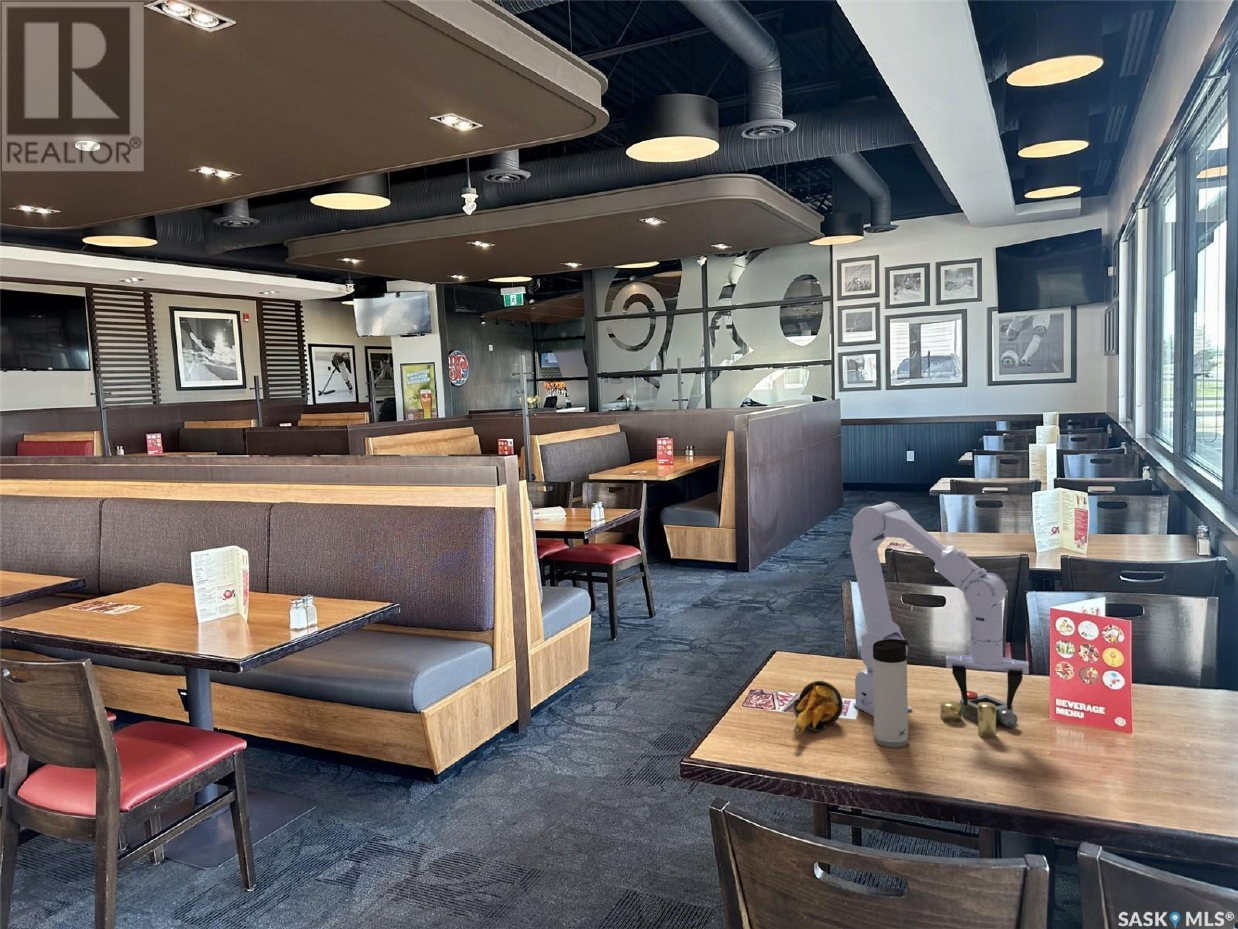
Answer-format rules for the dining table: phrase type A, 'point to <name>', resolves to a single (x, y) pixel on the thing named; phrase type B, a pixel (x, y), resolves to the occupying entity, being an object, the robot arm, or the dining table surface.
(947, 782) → the dining table surface
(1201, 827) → the dining table surface
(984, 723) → the brass nipple
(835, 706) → the fried food
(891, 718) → the travel mug
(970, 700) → the valve body
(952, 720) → the brass union nut
